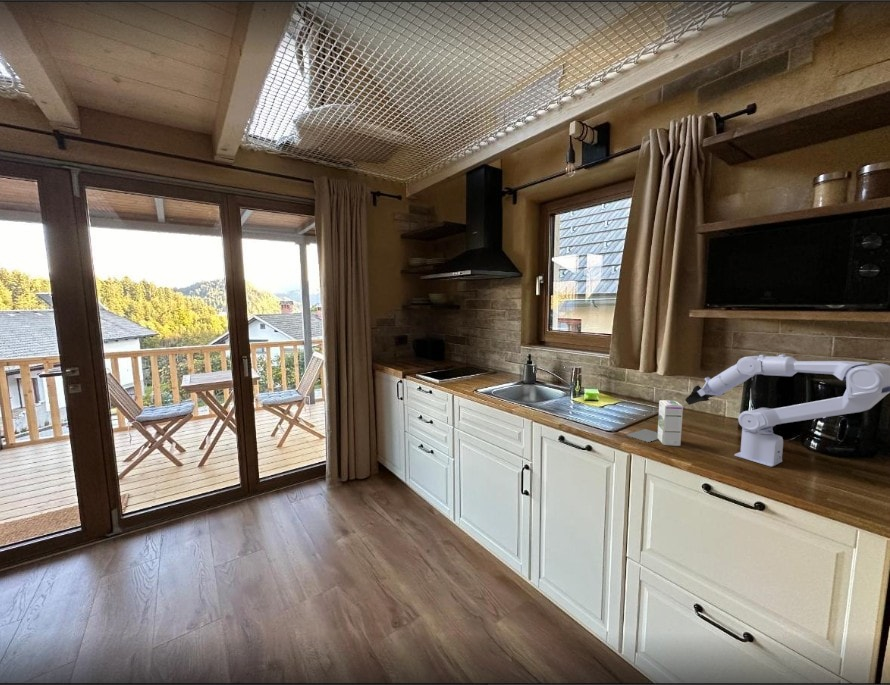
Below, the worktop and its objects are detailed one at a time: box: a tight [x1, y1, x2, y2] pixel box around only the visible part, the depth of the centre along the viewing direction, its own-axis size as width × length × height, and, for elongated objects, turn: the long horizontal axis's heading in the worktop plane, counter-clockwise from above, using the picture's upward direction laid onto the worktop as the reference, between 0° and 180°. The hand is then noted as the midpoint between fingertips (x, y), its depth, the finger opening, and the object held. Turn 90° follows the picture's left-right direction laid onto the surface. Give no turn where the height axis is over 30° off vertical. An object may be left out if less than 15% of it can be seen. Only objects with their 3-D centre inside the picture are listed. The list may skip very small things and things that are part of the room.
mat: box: [625, 428, 659, 443], centre depth 133 cm, size 8×12×1 cm
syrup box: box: [657, 399, 684, 447], centre depth 125 cm, size 6×6×14 cm
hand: (693, 399), depth 129 cm, fingers open, 7 cm apart
